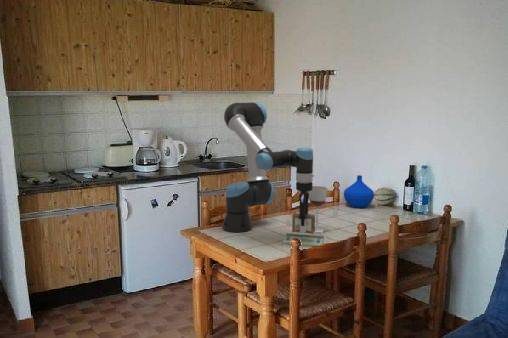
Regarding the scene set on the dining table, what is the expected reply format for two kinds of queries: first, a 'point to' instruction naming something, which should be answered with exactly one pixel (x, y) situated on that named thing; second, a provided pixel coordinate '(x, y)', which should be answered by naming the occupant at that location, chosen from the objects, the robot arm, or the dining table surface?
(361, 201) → the vase
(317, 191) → the wineglass
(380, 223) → the dining table surface
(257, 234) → the dining table surface
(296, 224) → the frame
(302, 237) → the ledge board
